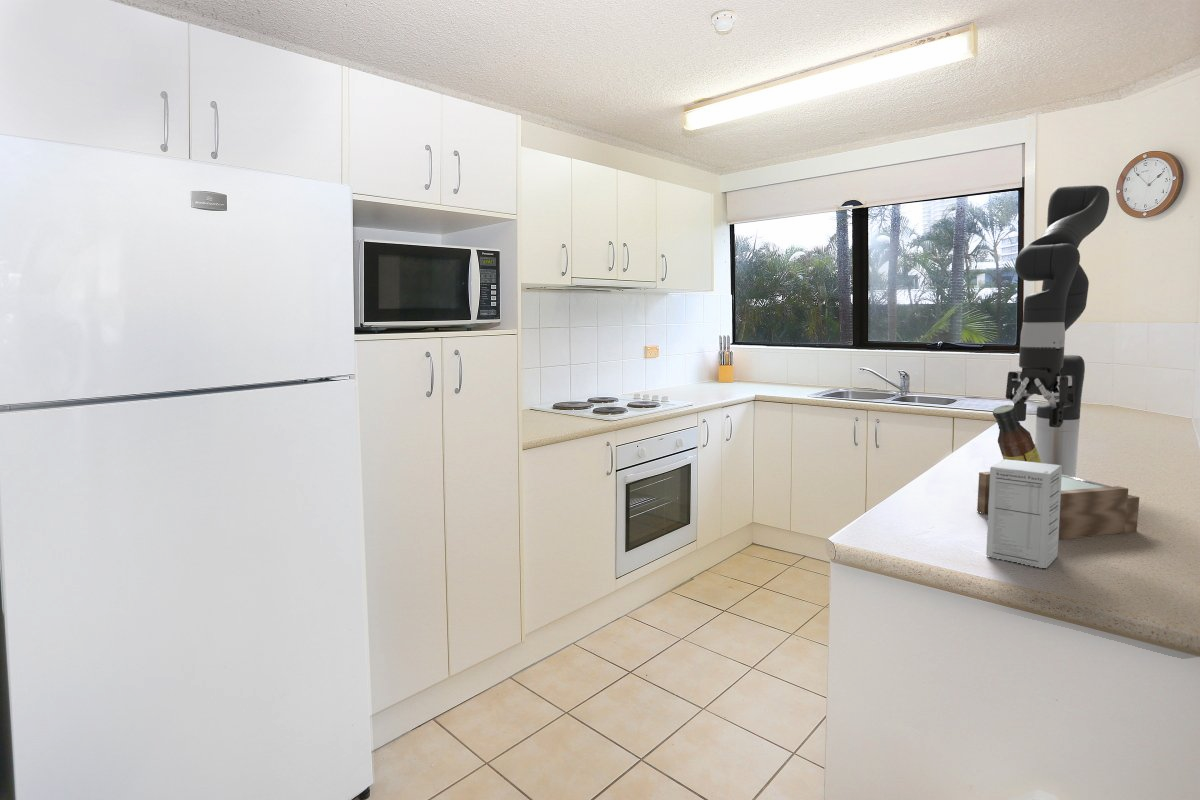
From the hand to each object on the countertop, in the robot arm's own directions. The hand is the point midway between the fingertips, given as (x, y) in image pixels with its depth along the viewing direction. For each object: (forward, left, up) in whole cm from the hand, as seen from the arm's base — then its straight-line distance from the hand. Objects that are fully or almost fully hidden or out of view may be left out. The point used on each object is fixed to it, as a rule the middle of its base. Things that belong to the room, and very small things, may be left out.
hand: (1037, 423), depth 135 cm
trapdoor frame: (0, +5, -21) cm, 22 cm away
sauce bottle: (0, 0, -15) cm, 15 cm away
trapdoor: (0, +5, -15) cm, 16 cm away
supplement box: (+16, -18, -21) cm, 32 cm away
